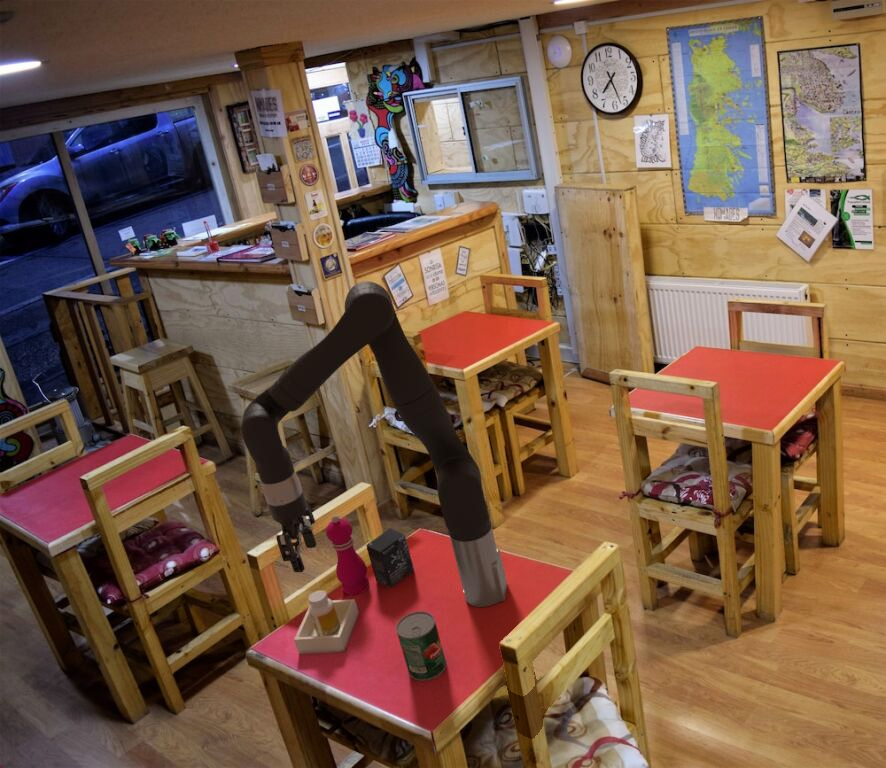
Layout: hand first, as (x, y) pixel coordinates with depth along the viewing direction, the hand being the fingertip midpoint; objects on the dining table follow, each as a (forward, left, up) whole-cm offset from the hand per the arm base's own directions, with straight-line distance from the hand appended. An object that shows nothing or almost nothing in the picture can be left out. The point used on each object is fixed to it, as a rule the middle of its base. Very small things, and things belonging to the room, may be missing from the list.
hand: (306, 558), depth 187 cm
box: (-11, -19, -20) cm, 30 cm away
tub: (0, 0, -20) cm, 20 cm away
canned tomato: (-24, +12, -20) cm, 34 cm away
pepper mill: (-2, -16, -20) cm, 26 cm away
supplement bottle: (0, 0, -20) cm, 20 cm away
